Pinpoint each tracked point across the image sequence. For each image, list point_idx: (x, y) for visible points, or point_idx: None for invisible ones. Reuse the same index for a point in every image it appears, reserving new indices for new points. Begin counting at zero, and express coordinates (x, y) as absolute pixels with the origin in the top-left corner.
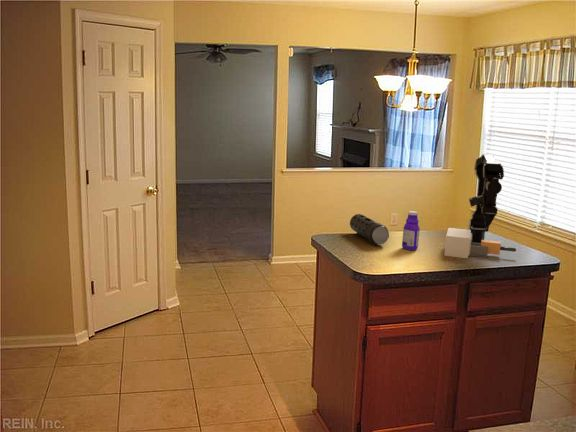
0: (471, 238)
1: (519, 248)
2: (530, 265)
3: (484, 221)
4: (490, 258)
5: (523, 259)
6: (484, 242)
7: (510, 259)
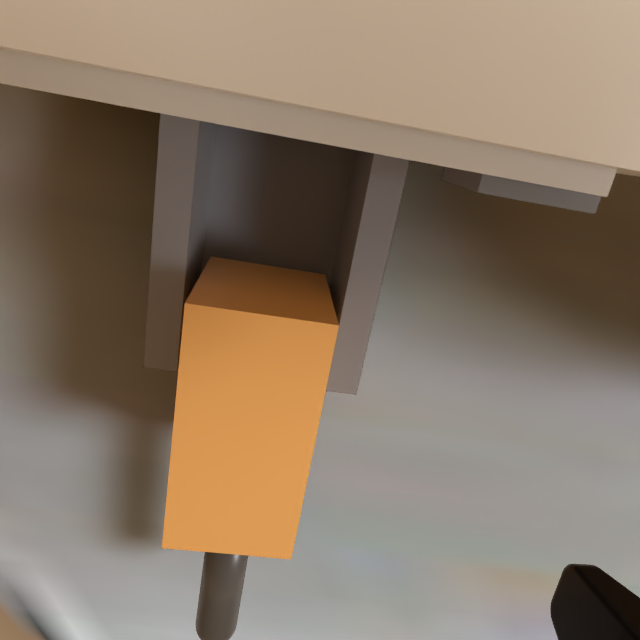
0: (466, 172)
1: None
2: (36, 630)
3: (614, 608)
4: (144, 345)
5: None
6: (183, 344)
7: None
